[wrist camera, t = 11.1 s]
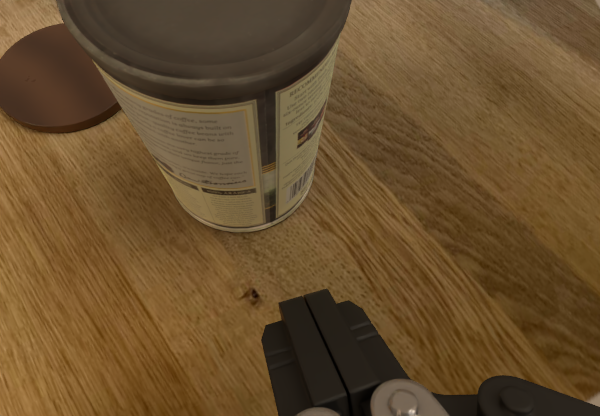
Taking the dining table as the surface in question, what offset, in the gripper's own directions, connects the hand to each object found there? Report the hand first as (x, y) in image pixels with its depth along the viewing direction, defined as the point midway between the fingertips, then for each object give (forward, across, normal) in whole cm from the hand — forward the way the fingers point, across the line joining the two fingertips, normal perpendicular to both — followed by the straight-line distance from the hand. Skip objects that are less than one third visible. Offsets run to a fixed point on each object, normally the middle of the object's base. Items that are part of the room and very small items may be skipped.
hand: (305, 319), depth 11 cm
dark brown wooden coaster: (+24, +11, -8) cm, 28 cm away
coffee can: (+17, 0, 0) cm, 17 cm away
